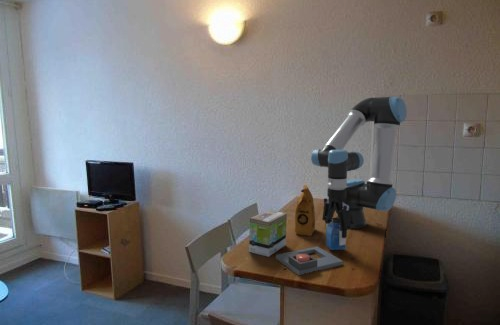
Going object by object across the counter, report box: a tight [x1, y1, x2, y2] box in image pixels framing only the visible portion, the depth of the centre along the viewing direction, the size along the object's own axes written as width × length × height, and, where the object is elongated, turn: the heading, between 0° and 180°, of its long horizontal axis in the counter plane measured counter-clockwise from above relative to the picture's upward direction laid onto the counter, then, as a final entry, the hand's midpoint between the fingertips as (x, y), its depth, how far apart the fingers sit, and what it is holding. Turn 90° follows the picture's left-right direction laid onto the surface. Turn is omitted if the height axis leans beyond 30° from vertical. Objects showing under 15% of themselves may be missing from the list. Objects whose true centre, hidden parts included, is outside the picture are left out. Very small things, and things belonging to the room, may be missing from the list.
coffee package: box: [294, 184, 316, 237], centre depth 167 cm, size 10×12×22 cm
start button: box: [296, 254, 310, 262], centre depth 128 cm, size 5×5×2 cm
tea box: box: [248, 209, 288, 258], centre depth 146 cm, size 15×10×15 cm
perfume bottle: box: [325, 217, 346, 251], centre depth 144 cm, size 6×6×12 cm
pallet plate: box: [275, 245, 344, 276], centre depth 134 cm, size 20×16×4 cm
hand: (335, 241), depth 145 cm, fingers closed on perfume bottle, 8 cm apart
